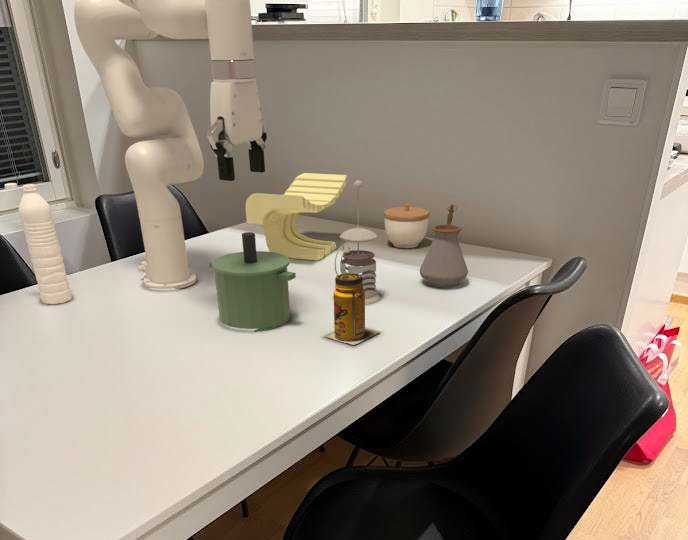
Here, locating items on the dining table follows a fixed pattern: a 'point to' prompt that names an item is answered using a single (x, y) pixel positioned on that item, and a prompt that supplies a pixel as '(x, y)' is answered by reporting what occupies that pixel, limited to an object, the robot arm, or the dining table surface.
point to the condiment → (350, 310)
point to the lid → (250, 260)
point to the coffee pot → (444, 257)
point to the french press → (360, 257)
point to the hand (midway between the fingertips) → (242, 175)
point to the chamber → (254, 299)
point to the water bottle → (43, 245)
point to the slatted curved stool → (295, 214)
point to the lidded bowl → (406, 225)
